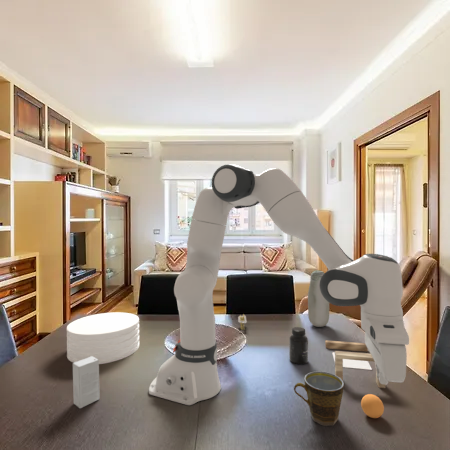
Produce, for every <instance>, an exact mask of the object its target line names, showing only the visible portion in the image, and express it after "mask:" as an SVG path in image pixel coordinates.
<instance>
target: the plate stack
mask: <svg viewBox="0 0 450 450" xmlns="http://www.w3.org/2000/svg"><path fill="white" fill-rule="evenodd" d="M139 347H140V318H139V316H138V315H136V314H134V313H131V312H129V313H128V312H122V311H121V312H120V311H119V312H113V311H112V312H101V313H96V314H90V315H87V316H84V317H83V316H82V317H81V318H78V319H75V320H74V321H71V322H70V323H69V324H67V326H66V357H67V360H68V361H70V362H71V363H72V364H73V363H75V362H77V361H80V360H83V359H86V358H88V357H91V356H93V357H95V358H96V359H98V360H99V365H102V364H109V363H112V362H116V361H119V360H122V359H125V358H127V357H129V356H131V355H133V354H134V353H135V352H137V351H138V349H140V348H139Z"/></svg>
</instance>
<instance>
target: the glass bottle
mask: <svg viewBox="0 0 450 450" xmlns="http://www.w3.org/2000/svg"><path fill="white" fill-rule="evenodd" d="M324 273H325V272H324V271H322V270H317V269H316V270H313V271H312V272H311V274H310V279H309V280H310V281H309V286H308V291H307V314H308V320H309V323H311V325H312V326H314V327H317V328H323V327H325V326H326V325H328V323H329V320H330V303H329V302H328V301H327V300H326V299H325V298H324V297H323V295H322V294H321V291H320V280H321V277H322V276H323V274H324Z"/></svg>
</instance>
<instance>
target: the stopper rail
mask: <svg viewBox="0 0 450 450" xmlns="http://www.w3.org/2000/svg"><path fill="white" fill-rule="evenodd" d="M324 347H325V348H326V349H329V350H330V349H331V350H332V349H333V350H341V351H355V352H356V351H357V352H365V353H366V352H367V353H368V352H369V350H368V348H367V346H366V344H365V342H350V341H340V340H339V341H337V340H326V339H325V346H324Z"/></svg>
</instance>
